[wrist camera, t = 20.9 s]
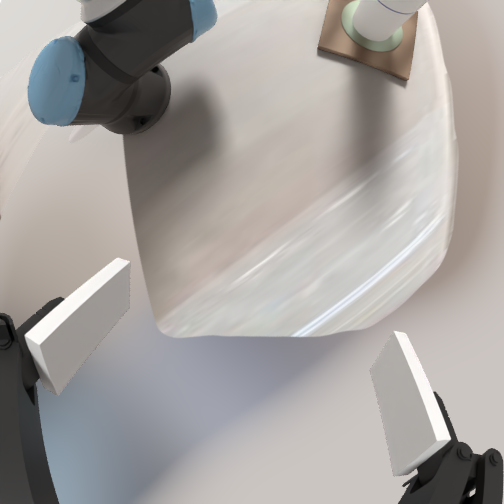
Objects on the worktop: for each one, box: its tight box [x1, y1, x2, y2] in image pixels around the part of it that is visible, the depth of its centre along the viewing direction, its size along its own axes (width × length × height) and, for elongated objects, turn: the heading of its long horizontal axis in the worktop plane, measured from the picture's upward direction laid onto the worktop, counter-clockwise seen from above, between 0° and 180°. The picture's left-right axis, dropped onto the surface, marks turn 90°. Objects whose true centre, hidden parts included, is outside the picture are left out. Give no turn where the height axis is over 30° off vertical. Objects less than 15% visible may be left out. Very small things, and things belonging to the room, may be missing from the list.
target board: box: [317, 0, 418, 81], centre depth 33 cm, size 16×16×2 cm
